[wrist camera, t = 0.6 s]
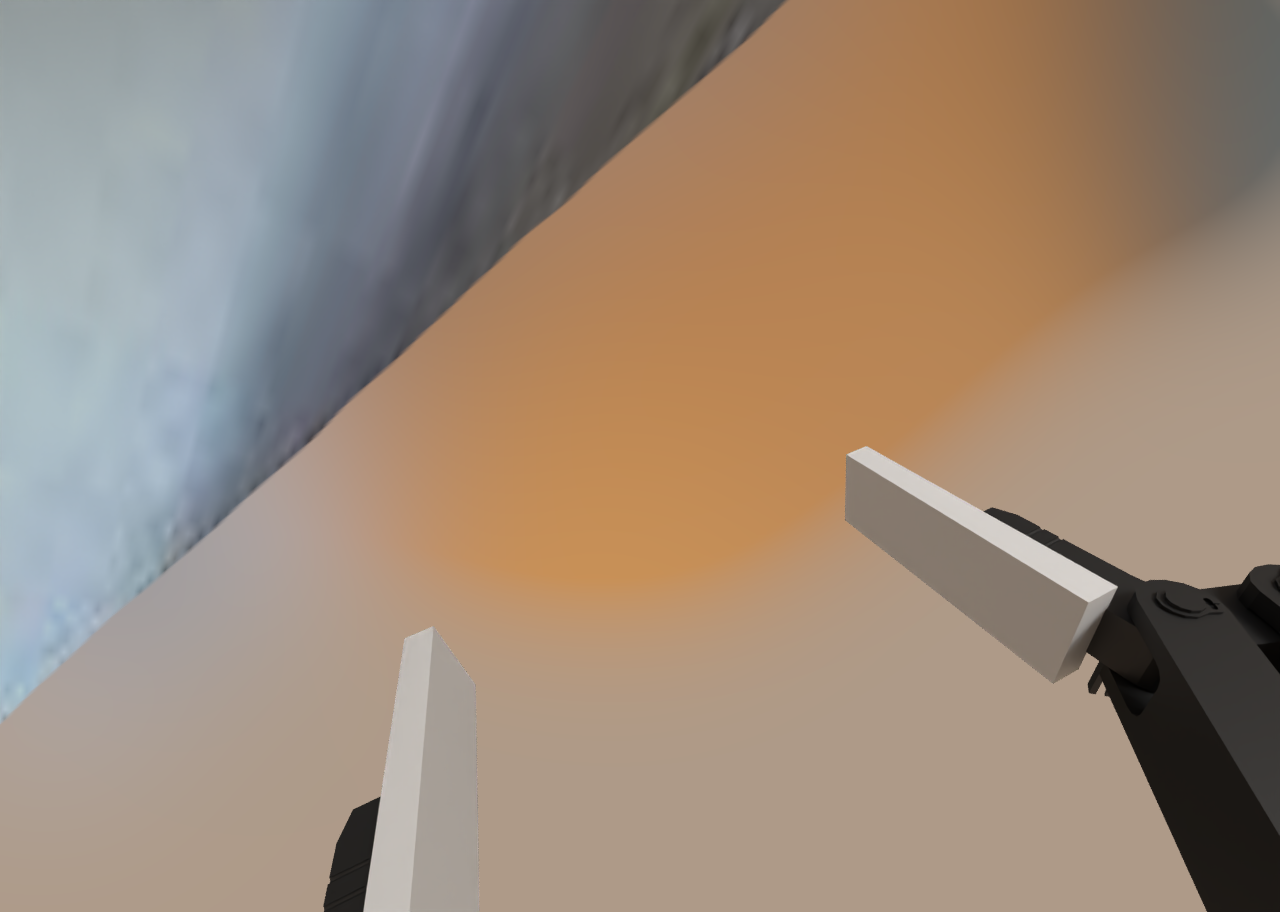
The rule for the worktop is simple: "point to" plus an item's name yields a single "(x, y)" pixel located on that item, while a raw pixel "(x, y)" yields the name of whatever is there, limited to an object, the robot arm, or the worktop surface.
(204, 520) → the worktop surface
